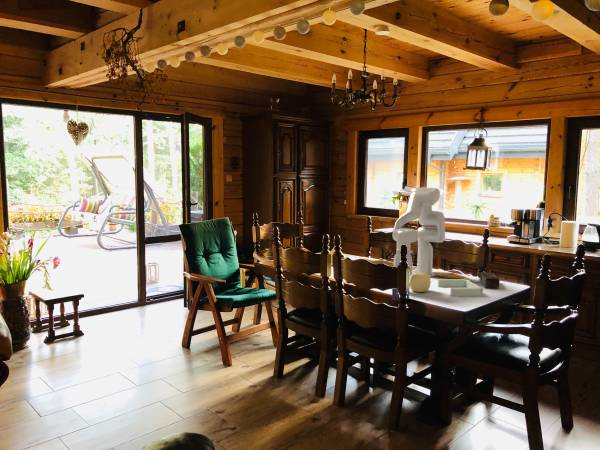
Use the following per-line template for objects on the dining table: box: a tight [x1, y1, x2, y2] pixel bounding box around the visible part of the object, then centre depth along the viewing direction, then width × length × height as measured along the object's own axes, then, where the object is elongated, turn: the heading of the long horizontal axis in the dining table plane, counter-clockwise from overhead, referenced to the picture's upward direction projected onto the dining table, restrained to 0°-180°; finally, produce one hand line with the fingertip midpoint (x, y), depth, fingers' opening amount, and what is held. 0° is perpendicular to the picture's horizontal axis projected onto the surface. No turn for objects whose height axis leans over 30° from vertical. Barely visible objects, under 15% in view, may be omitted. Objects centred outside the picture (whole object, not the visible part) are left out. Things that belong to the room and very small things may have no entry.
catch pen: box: [437, 278, 484, 297], centre depth 274 cm, size 22×17×4 cm
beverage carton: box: [479, 271, 501, 290], centre depth 288 cm, size 8×19×7 cm, turn 168°
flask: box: [391, 288, 410, 301], centre depth 255 cm, size 9×3×11 cm, turn 96°
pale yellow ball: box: [408, 272, 432, 293], centre depth 272 cm, size 11×12×11 cm
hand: (402, 284), depth 272 cm, fingers closed
